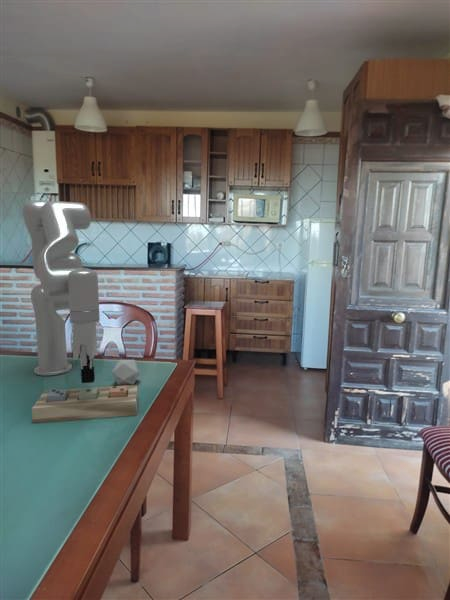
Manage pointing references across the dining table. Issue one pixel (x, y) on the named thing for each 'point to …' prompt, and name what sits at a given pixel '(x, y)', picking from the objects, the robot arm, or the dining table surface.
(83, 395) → the button one
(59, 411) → the button board
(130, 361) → the die
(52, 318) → the robot arm
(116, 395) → the button two
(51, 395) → the button three
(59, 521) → the dining table surface
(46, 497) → the dining table surface
